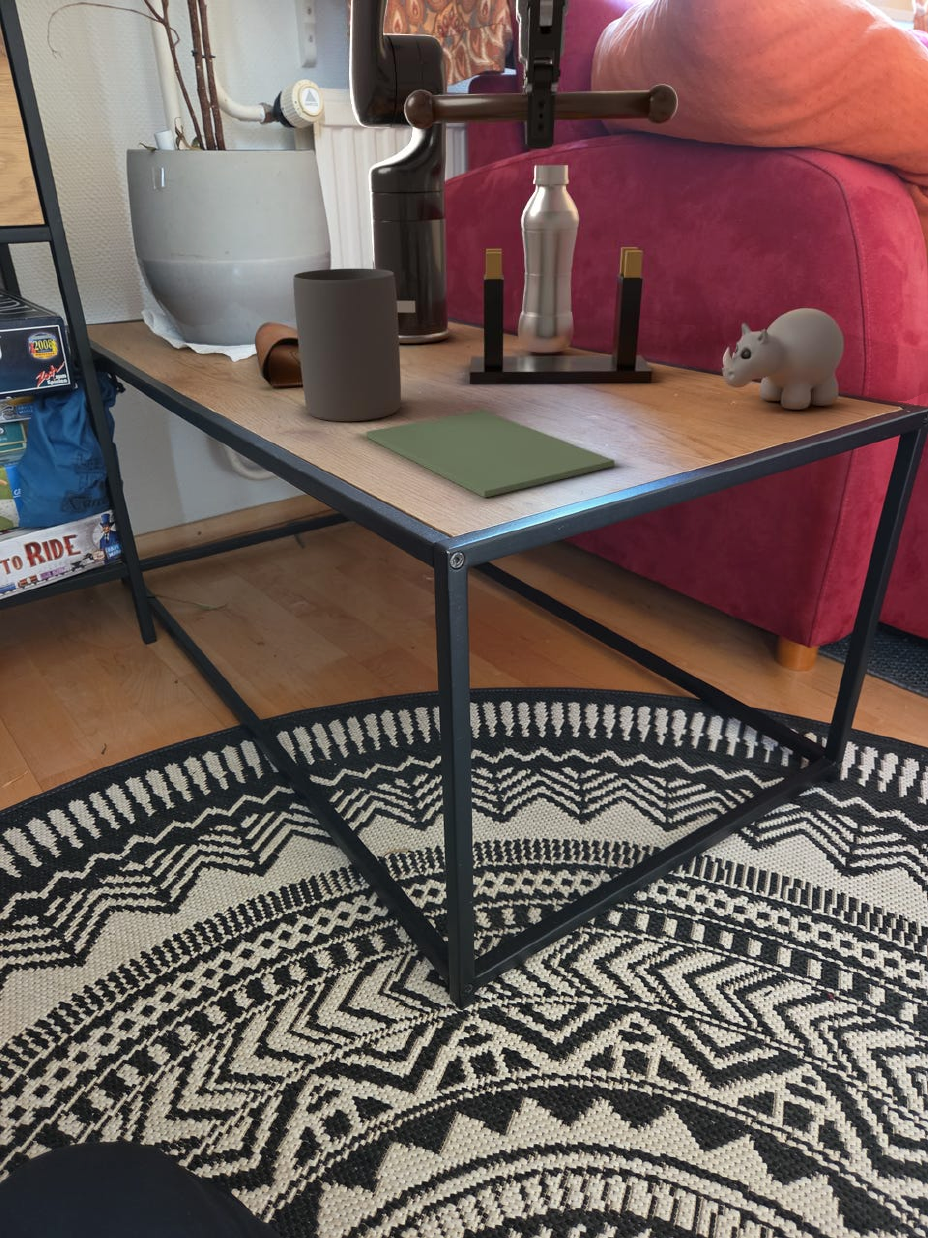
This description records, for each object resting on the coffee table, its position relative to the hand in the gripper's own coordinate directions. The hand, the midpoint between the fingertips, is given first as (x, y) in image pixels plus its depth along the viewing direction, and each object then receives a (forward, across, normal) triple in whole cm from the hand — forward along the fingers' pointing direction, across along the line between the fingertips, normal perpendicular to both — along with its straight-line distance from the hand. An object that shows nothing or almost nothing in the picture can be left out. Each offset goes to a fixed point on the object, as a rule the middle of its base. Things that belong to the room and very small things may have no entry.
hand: (539, 147), depth 71 cm
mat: (+22, +14, -5) cm, 26 cm away
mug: (+22, -1, -18) cm, 28 cm away
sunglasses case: (+21, -17, -26) cm, 38 cm away
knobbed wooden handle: (-3, 0, 0) cm, 3 cm away
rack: (+21, -13, +3) cm, 25 cm away
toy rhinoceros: (+22, +1, +22) cm, 31 cm away
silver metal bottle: (+21, -25, +2) cm, 33 cm away
